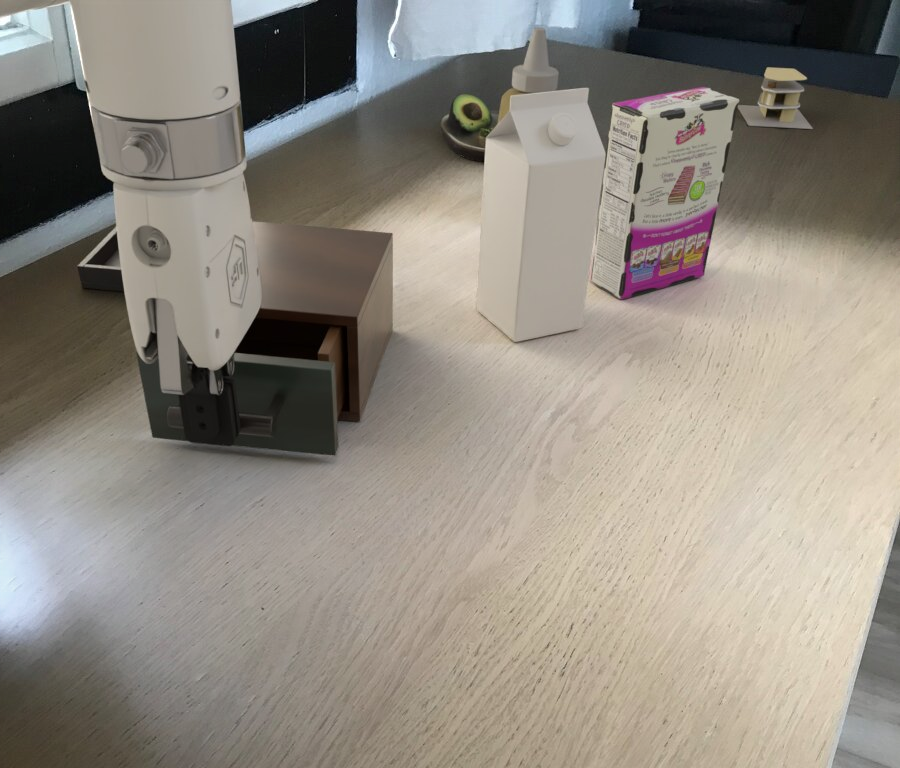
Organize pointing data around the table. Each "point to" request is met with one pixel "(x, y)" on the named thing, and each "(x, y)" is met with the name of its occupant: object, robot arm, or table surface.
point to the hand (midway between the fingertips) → (213, 437)
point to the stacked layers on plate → (778, 101)
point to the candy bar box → (661, 189)
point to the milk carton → (539, 214)
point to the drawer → (273, 388)
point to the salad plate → (468, 126)
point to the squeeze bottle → (531, 72)
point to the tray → (103, 266)
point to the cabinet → (332, 291)
